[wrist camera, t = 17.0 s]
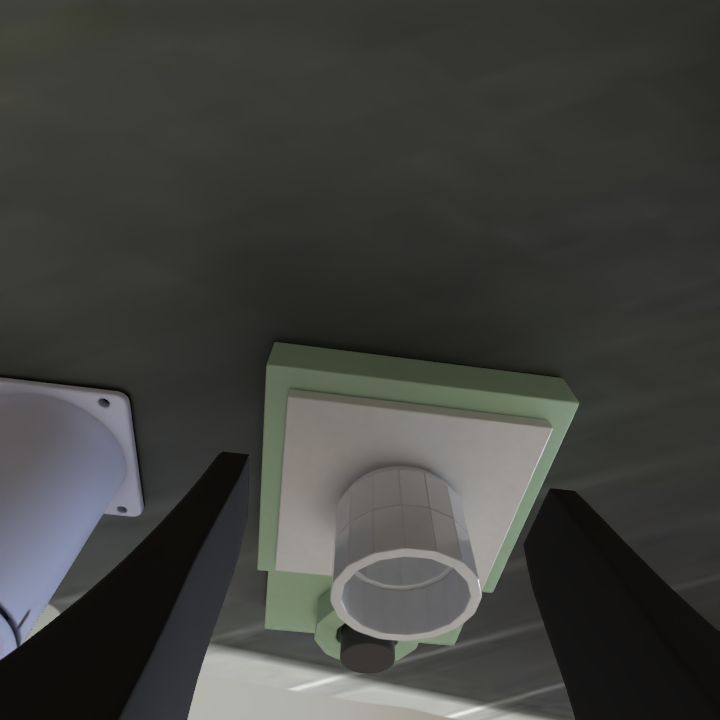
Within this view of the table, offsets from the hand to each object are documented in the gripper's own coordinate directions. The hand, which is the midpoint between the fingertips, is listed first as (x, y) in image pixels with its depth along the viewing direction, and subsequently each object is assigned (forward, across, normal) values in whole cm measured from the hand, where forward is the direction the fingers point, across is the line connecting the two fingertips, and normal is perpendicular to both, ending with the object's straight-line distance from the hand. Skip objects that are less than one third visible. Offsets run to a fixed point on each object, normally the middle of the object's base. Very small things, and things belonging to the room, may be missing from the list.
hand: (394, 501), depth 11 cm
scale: (+10, -2, +8) cm, 13 cm away
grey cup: (+7, -2, +8) cm, 11 cm away
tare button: (+7, -2, +18) cm, 20 cm away
